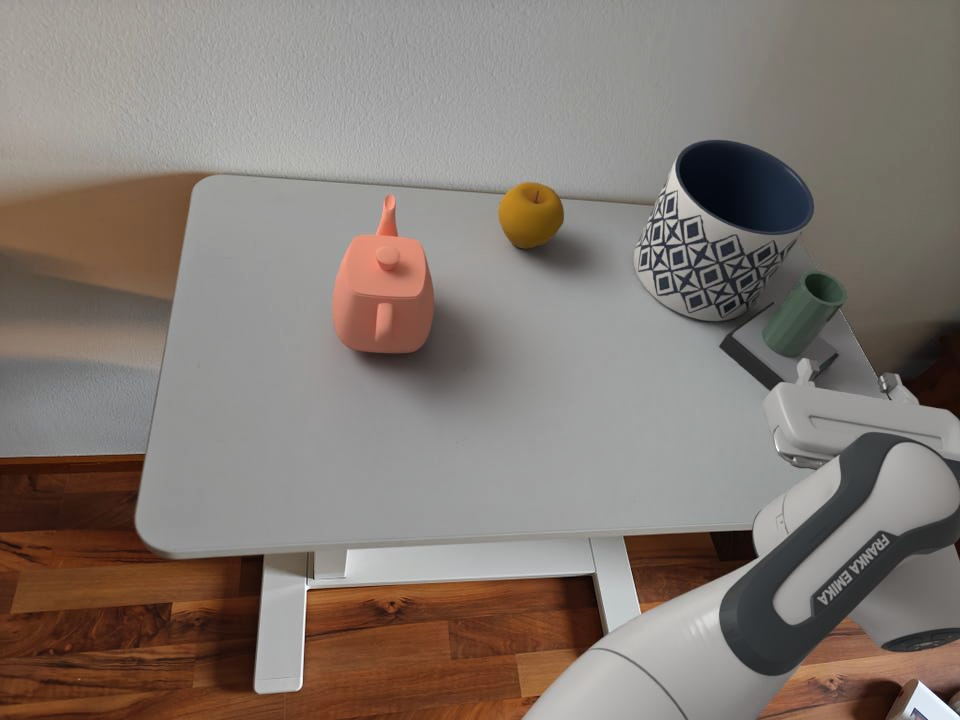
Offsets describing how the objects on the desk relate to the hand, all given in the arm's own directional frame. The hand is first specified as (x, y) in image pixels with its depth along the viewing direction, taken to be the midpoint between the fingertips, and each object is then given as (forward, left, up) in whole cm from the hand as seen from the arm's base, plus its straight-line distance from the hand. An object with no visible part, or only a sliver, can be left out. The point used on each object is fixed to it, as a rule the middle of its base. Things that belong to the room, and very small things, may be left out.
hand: (847, 369), depth 80 cm
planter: (+24, -10, -12) cm, 29 cm away
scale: (+8, -8, -12) cm, 16 cm away
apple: (+42, +7, -12) cm, 44 cm away
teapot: (+41, +32, -12) cm, 54 cm away
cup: (+8, -7, -9) cm, 14 cm away
